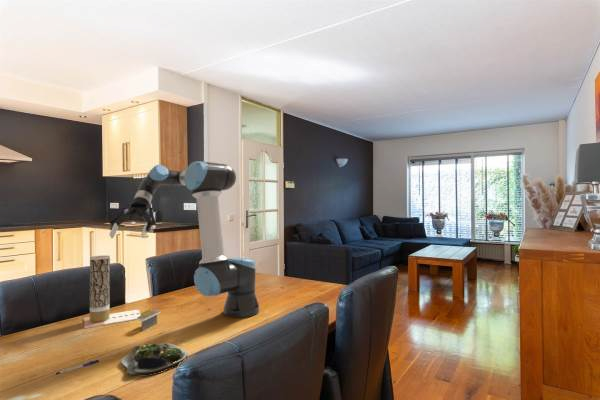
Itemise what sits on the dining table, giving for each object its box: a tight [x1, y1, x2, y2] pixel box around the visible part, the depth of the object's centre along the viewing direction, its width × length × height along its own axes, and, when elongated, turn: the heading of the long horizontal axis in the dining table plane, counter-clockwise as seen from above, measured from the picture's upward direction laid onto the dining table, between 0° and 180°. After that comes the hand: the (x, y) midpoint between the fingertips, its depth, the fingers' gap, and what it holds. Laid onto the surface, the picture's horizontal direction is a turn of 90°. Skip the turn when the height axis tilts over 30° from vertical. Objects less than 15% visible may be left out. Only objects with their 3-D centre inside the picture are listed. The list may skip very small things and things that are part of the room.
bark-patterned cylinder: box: [89, 255, 111, 322], centre depth 134 cm, size 7×7×25 cm
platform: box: [136, 308, 161, 332], centre depth 129 cm, size 12×18×7 cm, turn 166°
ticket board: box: [83, 309, 141, 329], centre depth 137 cm, size 12×20×1 cm, turn 123°
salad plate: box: [121, 343, 188, 376], centre depth 102 cm, size 19×18×5 cm
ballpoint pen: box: [55, 359, 100, 375], centre depth 97 cm, size 10×1×1 cm, turn 137°
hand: (127, 236), depth 148 cm, fingers open, 13 cm apart
